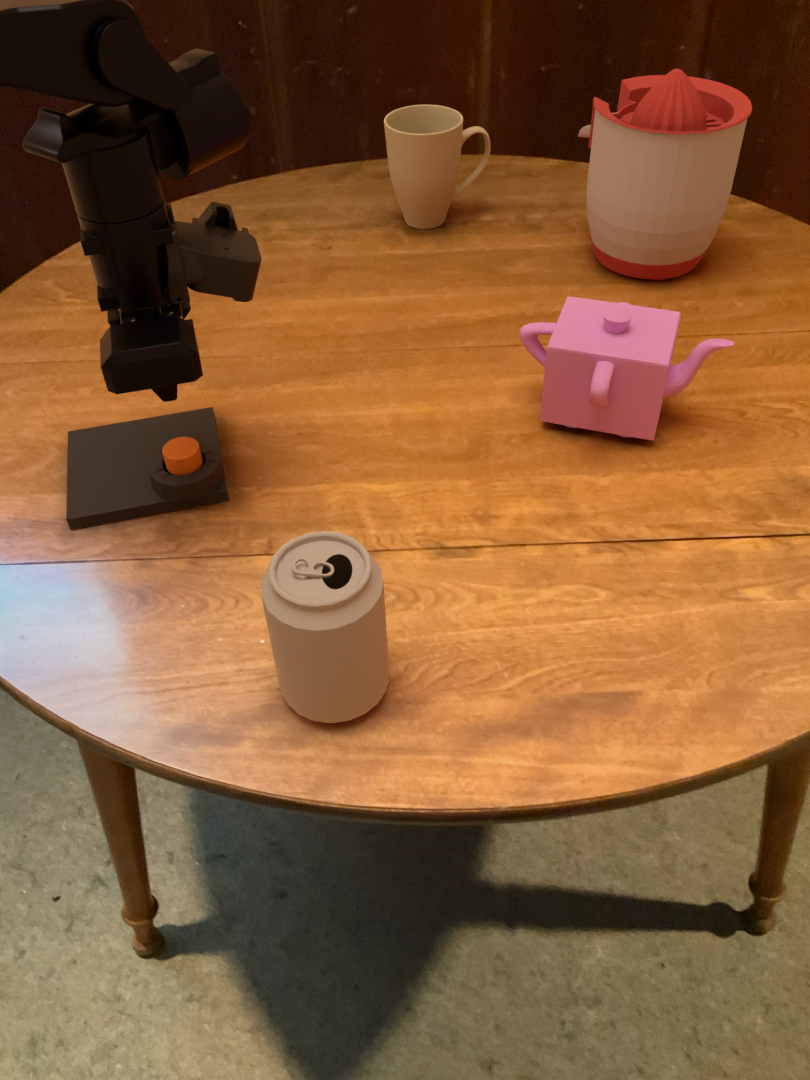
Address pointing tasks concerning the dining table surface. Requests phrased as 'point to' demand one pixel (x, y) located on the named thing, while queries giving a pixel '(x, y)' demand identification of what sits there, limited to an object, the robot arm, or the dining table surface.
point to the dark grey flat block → (140, 469)
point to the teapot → (611, 365)
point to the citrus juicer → (662, 171)
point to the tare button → (182, 456)
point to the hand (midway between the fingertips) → (170, 398)
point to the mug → (428, 160)
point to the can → (327, 626)
